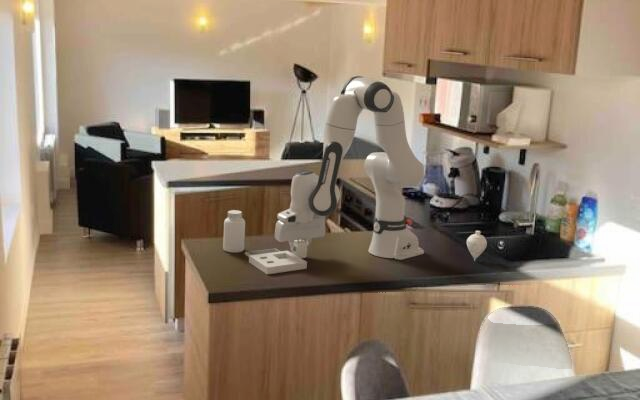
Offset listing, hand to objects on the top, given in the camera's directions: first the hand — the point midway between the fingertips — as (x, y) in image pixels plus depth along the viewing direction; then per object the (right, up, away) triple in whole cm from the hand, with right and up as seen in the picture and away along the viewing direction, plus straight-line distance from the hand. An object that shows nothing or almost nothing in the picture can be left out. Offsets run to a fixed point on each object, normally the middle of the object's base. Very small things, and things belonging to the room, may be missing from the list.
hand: (299, 250), depth 253 cm
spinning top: (+68, -5, +9) cm, 68 cm away
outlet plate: (-8, -5, -10) cm, 14 cm away
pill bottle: (-25, 0, +4) cm, 26 cm away
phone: (-13, -2, 0) cm, 13 cm away
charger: (0, -2, +1) cm, 3 cm away
